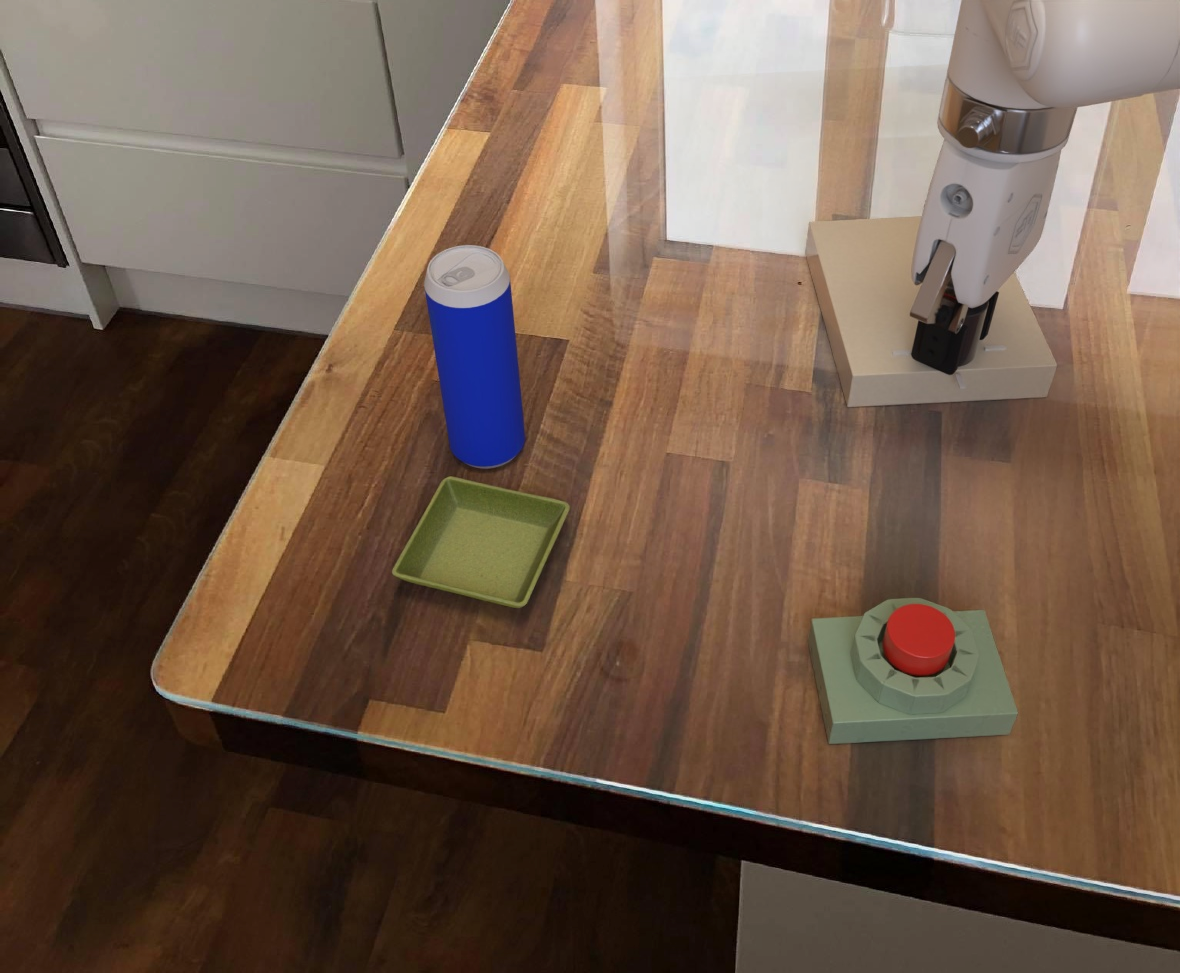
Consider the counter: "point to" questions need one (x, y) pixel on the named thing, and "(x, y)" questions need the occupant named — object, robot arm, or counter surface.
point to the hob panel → (912, 323)
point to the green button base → (908, 681)
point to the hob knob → (969, 327)
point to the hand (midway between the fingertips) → (949, 345)
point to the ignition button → (918, 639)
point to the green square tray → (482, 542)
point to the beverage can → (476, 354)
